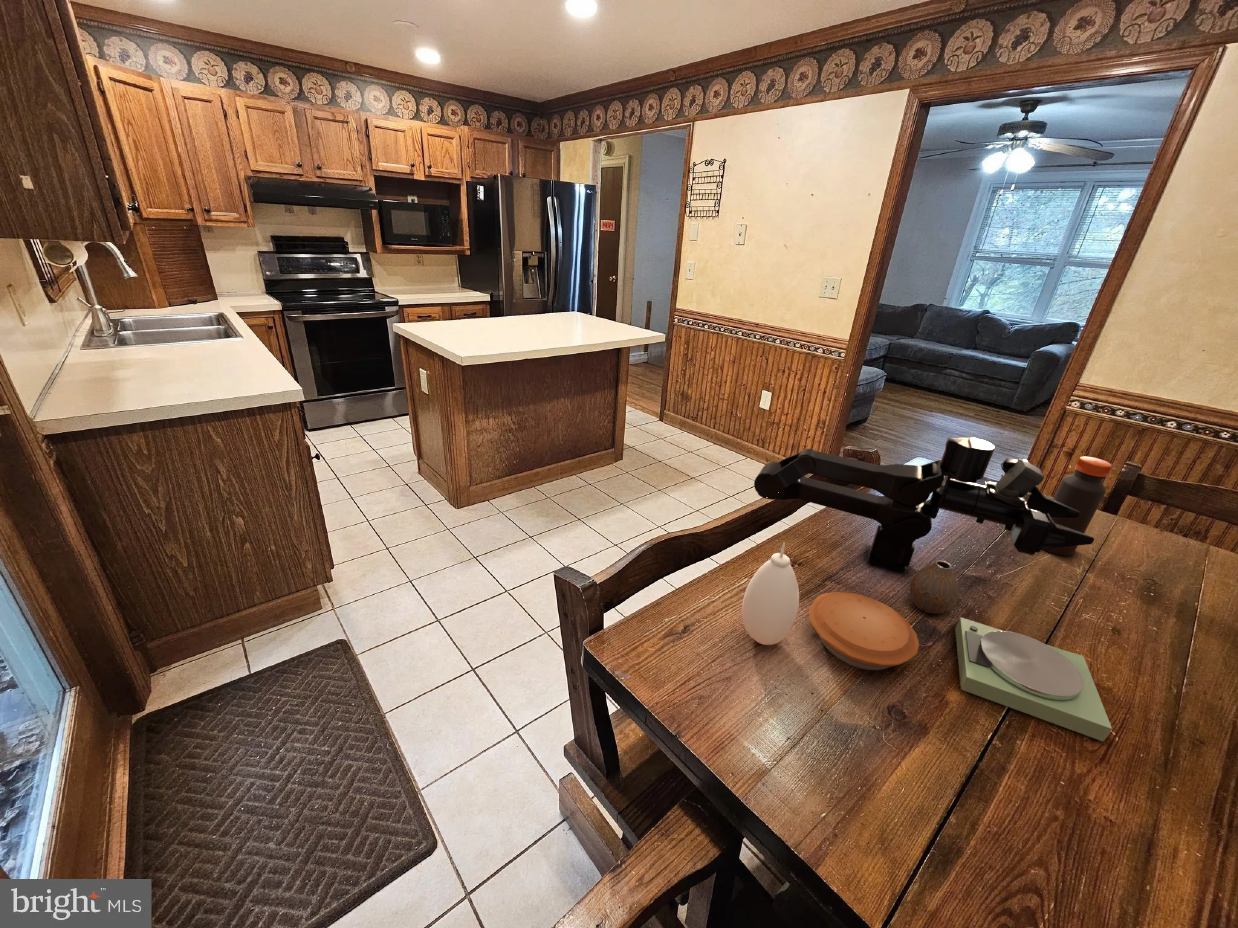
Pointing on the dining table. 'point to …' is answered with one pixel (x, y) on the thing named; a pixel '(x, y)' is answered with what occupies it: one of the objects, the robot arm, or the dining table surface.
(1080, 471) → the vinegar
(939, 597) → the vase
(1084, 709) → the scale
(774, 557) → the sauce bottle
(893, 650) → the pie
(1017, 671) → the scale pan
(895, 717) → the dining table surface
